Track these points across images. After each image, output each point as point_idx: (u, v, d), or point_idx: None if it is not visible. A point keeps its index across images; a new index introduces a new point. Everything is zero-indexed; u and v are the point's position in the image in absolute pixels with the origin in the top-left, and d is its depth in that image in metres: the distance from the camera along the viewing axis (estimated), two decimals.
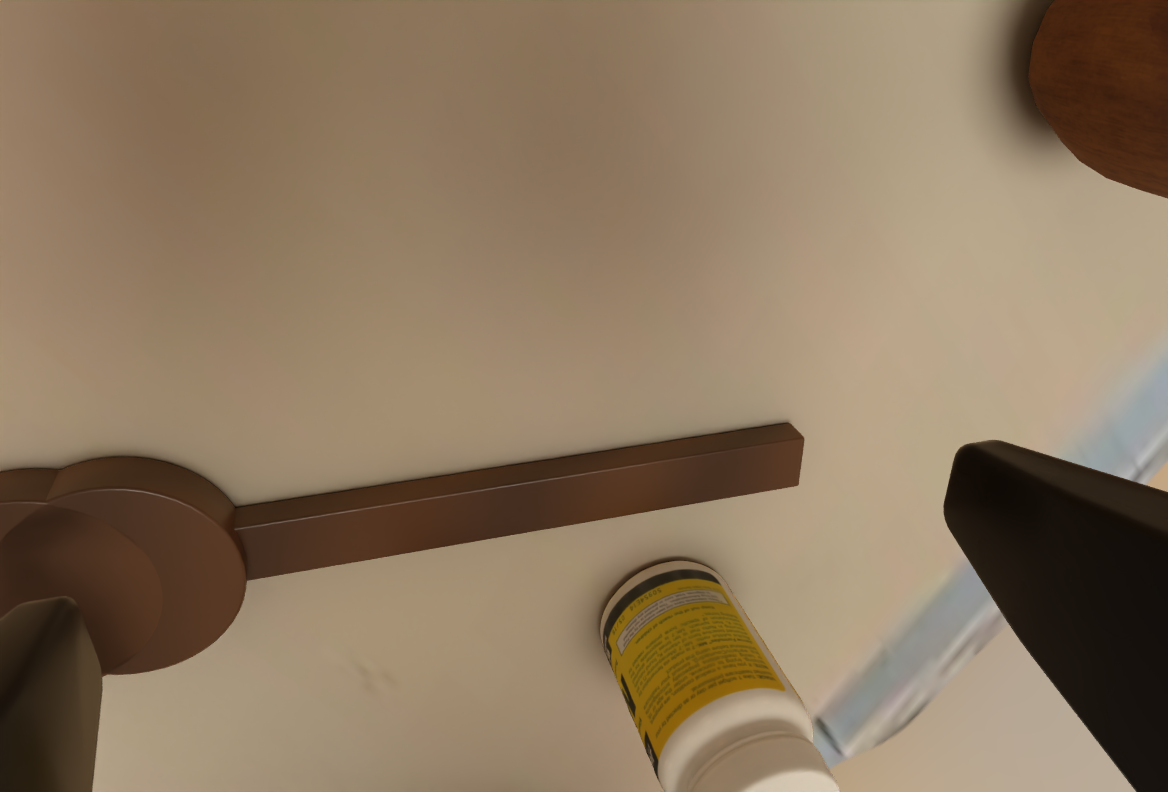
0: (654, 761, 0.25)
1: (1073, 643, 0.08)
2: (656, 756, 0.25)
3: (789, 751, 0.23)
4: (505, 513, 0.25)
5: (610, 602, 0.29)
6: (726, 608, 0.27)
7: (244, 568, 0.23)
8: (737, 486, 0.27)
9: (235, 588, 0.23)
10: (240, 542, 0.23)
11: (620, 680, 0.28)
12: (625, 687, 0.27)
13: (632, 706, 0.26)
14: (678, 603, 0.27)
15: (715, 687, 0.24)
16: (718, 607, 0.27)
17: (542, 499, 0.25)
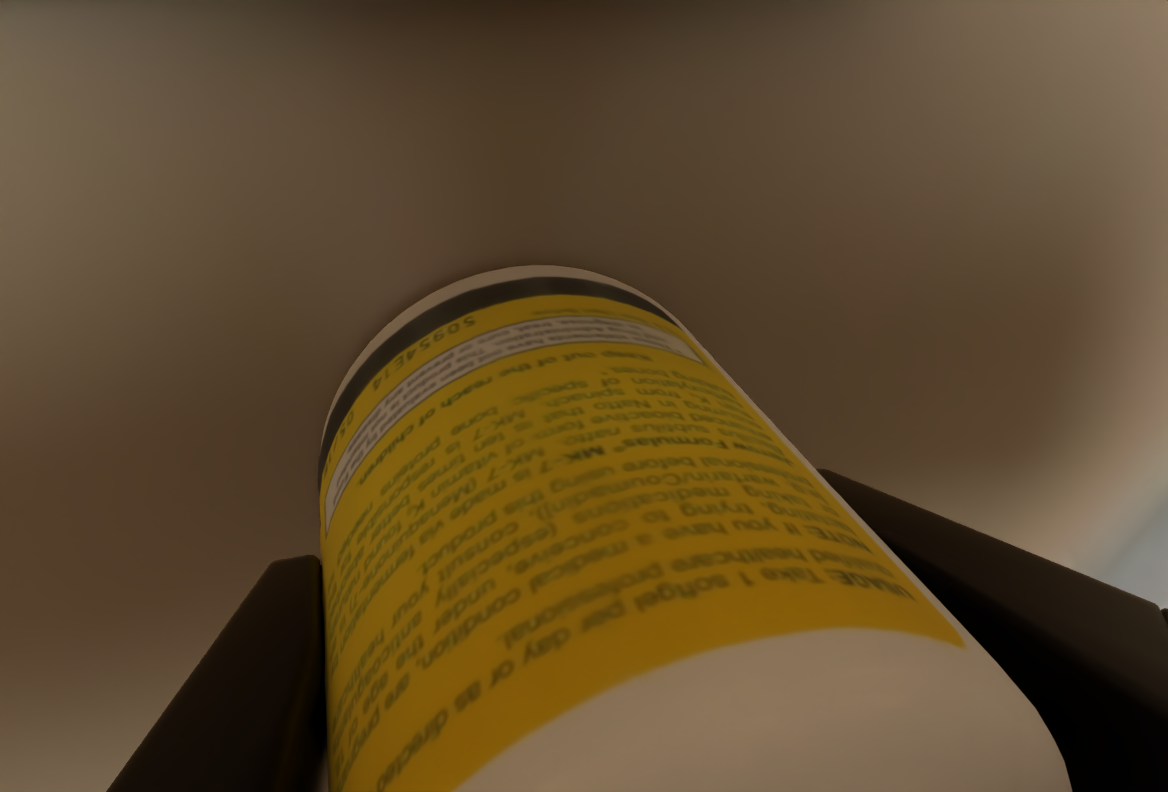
0: None
1: None
2: None
3: None
4: None
5: (338, 389, 0.09)
6: (697, 368, 0.08)
7: None
8: None
9: None
10: None
11: None
12: None
13: (327, 717, 0.07)
14: (525, 344, 0.08)
15: (616, 627, 0.05)
16: (666, 359, 0.08)
17: None
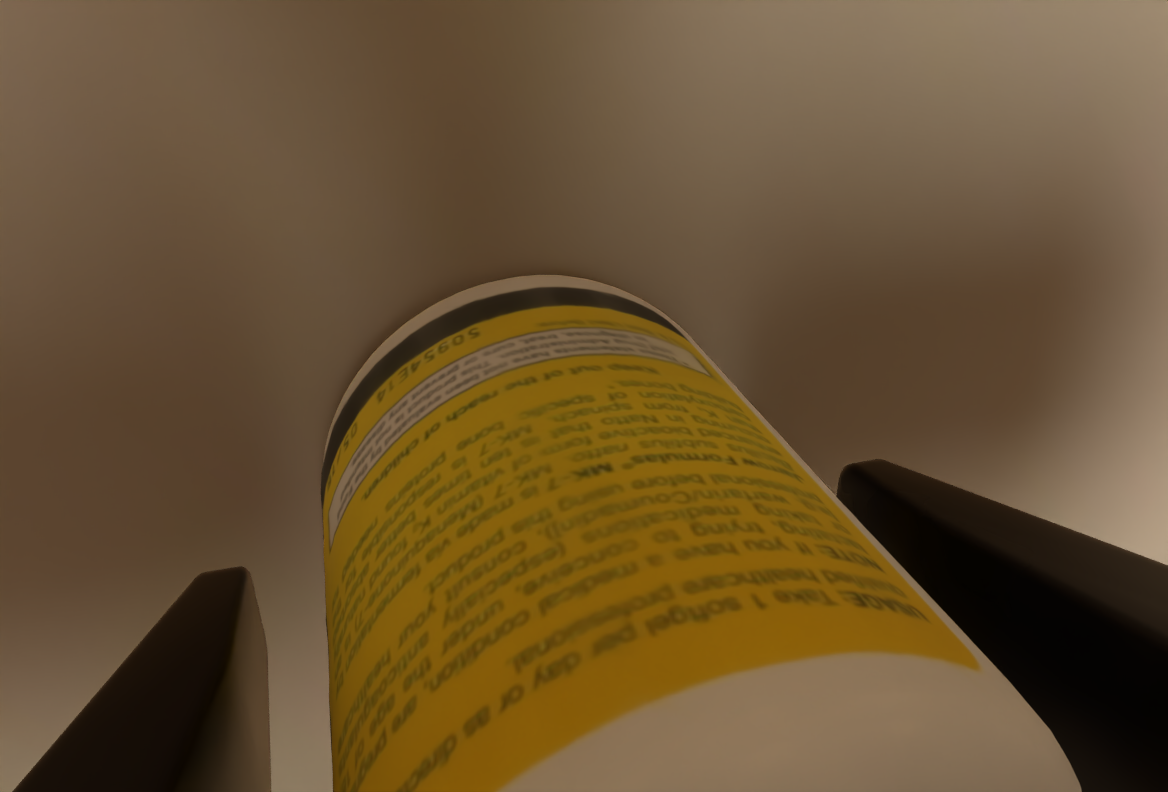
0: None
1: None
2: None
3: None
4: None
5: (341, 400, 0.09)
6: (705, 381, 0.08)
7: None
8: None
9: None
10: None
11: None
12: None
13: None
14: (531, 357, 0.07)
15: (628, 650, 0.05)
16: (674, 373, 0.07)
17: None
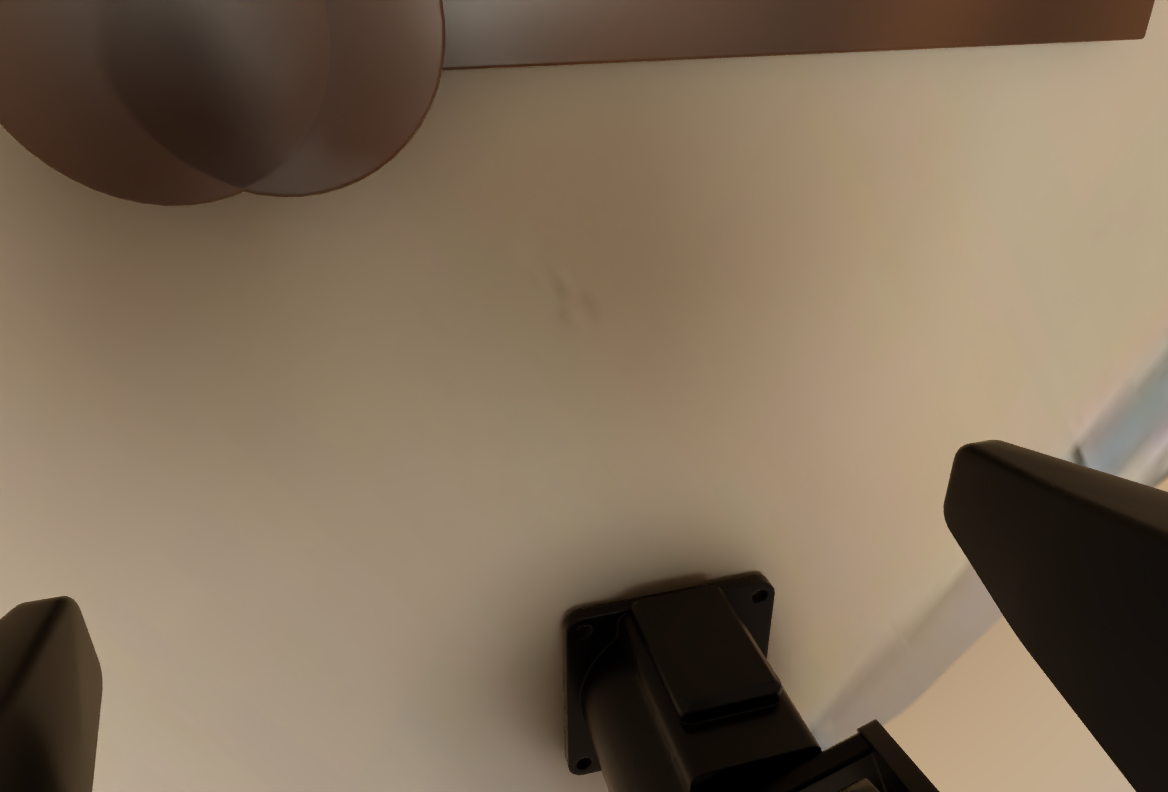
0: None
1: (1073, 643, 0.08)
2: None
3: None
4: (785, 12, 0.18)
5: None
6: None
7: (444, 29, 0.16)
8: (1073, 24, 0.20)
9: (429, 62, 0.16)
10: None
11: None
12: None
13: None
14: None
15: None
16: None
17: None
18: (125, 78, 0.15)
